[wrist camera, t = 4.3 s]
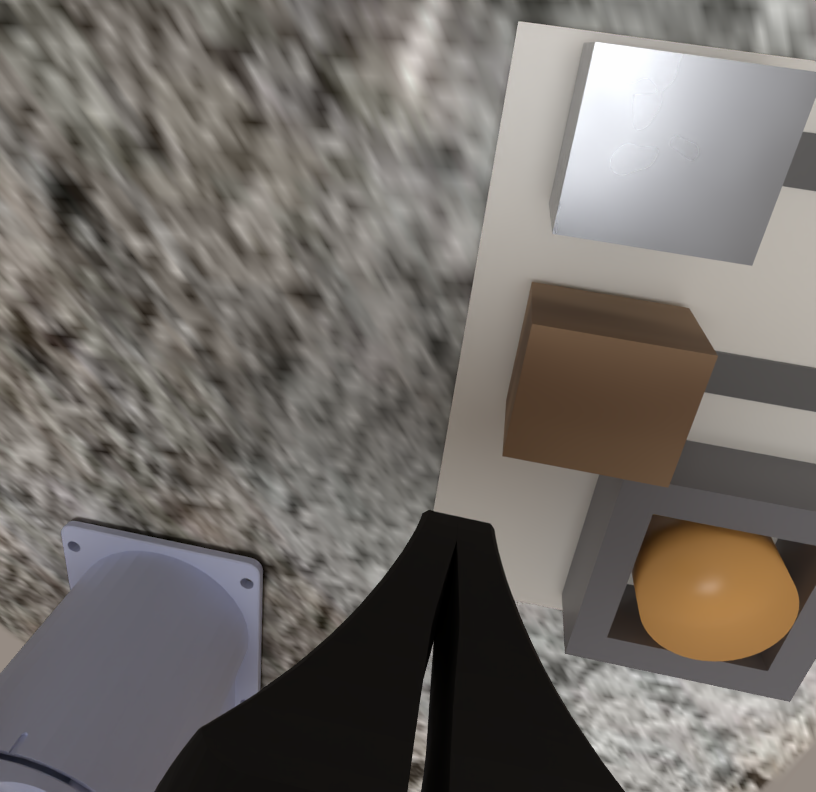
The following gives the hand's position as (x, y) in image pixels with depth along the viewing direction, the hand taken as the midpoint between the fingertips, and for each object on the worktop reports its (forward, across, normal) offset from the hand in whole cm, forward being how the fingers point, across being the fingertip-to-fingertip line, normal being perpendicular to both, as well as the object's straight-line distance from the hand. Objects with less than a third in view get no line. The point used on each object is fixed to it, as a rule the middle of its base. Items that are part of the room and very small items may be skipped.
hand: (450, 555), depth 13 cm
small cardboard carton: (+7, -3, -2) cm, 8 cm away
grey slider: (+7, -3, -8) cm, 10 cm away
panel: (+8, -5, -1) cm, 10 cm away
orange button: (+7, -7, +3) cm, 11 cm away
